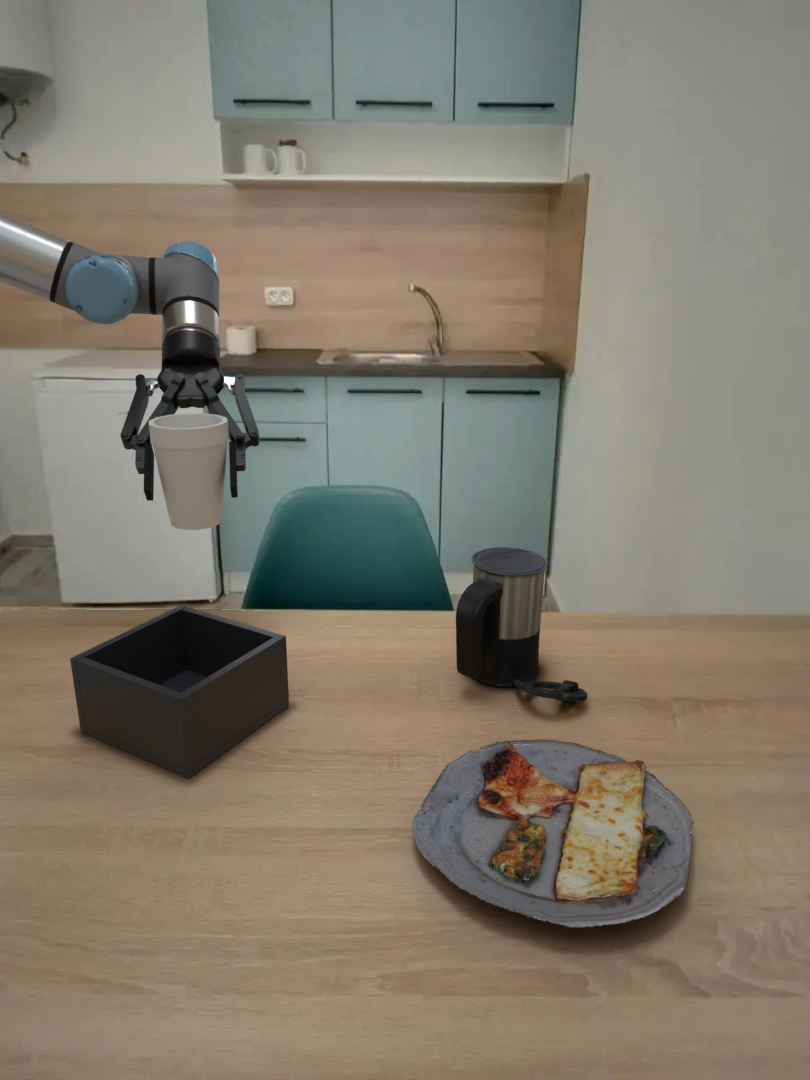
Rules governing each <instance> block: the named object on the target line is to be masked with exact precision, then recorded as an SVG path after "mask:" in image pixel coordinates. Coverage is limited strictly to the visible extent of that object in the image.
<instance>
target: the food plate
mask: <svg viewBox="0 0 810 1080" xmlns="http://www.w3.org/2000/svg"><path fill="white" fill-rule="evenodd" d="M694 827H695V821H694V819H693V816H692V814H691V812H690V810H689V809H688V807H687V806H686V804H684V802H683V801H682V800H681V799H680V798H679V797H677V795H676V794H675V793H674V792H672V791H671V790H670V789H669V788H668V787H666V786H665V785H664V784H663V782H661V781H660V780H659V779H658V778H657V777H656V775H654V773H651V772H650V771H647V766H646V763H645V762H644V761H643V760H639V759H637V760H634V761H627V760H626V759H624V758H622V757H620V756H618V755H615V754H611V753H608V752H605V751H603V750H600V749H595V748H592V747H589V746H587V745H583V744H580V743H578V742H571V741H563V740H555V739H543V738H540V739H538V738H537V739H520V740H519V739H518V740H503V741H496V742H492V743H490V744H487V745H484V746H481V747H479V748H478V749H476V750H469V751H468V752H466V753H465V754H463V755H460V757H458V758H457V759H456V758H455V759H454V760H452V761H449V762H447V764H446V765H445V767H444V768H443V770H442V771H441V773H440V774H439V776H438V777H437V779H436V780H435V782H434V784H433V785H432V787H431V788H430V790H429V792H428V793H427V795H426V796H425V798H424V799H423V802H422V804H421V805H420V807H419V809H418V810H417V811H416V813H415V815H414V816H413V820H412V834H413V840H414V841H415V844H416V847H417V849H418V851H419V852H420V853H421V855H422V857H423V859H425V860H427V861H428V864H430V865H431V867H435V868H437V869H438V870H439V871H440V873H442V874H443V876H445V878H447V879H448V880H449V881H450V883H452V884H454V885H455V886H457V887H458V888H459V889H461V890H464V891H465V892H466V893H469V894H470V895H471V896H474V897H476V898H478V899H479V900H481V901H483V902H485V903H487V904H490V905H492V906H496V907H499V908H502V909H504V910H507V911H509V912H512V913H513V914H514V915H516V914H518V913H519V914H520V915H523V916H526V919H528V918H529V919H530V918H532V919H537V920H538V921H542V922H548V923H551V924H556V925H561V926H564V927H566V928H572V929H573V928H576V929H577V928H588V927H589V928H593V927H595V926H597V927H598V926H599V927H603V926H609V925H610V926H612V925H618V924H623V923H626V924H627V923H629V922H633V921H636V920H640V919H641V918H642V919H643V918H646V917H648V916H650V915H652V914H654V913H656V912H659V911H661V910H662V908H665V907H667V906H668V905H669V904H670V903H672V902H673V901H674V899H676V898H677V897H679V896H681V895H682V894H683V892H685V889H686V884H688V878H689V872H690V871H689V870H690V863H691V861H690V860H691V853H692V845H693V837H694V829H695V828H694Z"/></svg>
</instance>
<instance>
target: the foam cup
mask: <svg viewBox="0 0 810 1080" xmlns="http://www.w3.org/2000/svg"><path fill="white" fill-rule="evenodd" d="M149 431H150V441H151V444H152V448H153V452H154V458H155V461H156V466H157V470H158V475H159V479H160V484H161V488H162V493H163V496H164V500H165V501H164V502H165V505H166V509H167V514H168V519H169V521H170V526H171V527H173V528H175V529H178V530H184V531H200V530H205V529H210V528H214V527H217V526H218V525H220V524H221V523H222V517H223V509H224V508H223V506H224V491H225V478H226V463H227V452H228V451H227V450H228V449H227V448H228V442H229V441H230V439H229V432H228V420H227V418H226V417H223V416H220V415H215V414H211V413H205V412H204V413H203V412H195V413H192V412H189V413H175V414H173V415H166V416H161V417H156V418H154V419H152V420H150V421H149Z"/></svg>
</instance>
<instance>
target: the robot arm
mask: <svg viewBox="0 0 810 1080" xmlns="http://www.w3.org/2000/svg"><path fill="white" fill-rule="evenodd" d="M0 283H2V284H5V285H8V286H10V287H13V288H15V289H18V290H20V291H22V292H25V293H28V294H31V295H33V296H36V297H38V298H41V299H44V300H46V301H49V302H51V303H54V304H56V305H58V306H61V307H64V308H65V309H68V310H72V311H73V312H76V314H78V315H79V316H81V317H82V318H83V319H85V320H87V321H89V322H90V323H94V324H99V325H111V324H115V323H117V322H121V321H122V320H125V319H126V318H127V317H128V316H129V315H132V314H134V315H136V314H137V315H151V316H152V315H153V316H157V315H159V316H162V317H161V324H162V325H161V342H162V344H161V368H160V372H159V373H158V375H157V376H156V377H146V376H145V375H144V374H141V373H140V374H139V373H138V374H137V375H135V378H134V379H135V391H134V395H133V398H132V401H131V403H130V406H129V409H128V412H127V414H126V418H125V420H124V423H123V426H122V429H121V432H120V435H119V436H120V439H121V442H122V445H123V448H124V450H127V451H128V450H133V451H135V460H134V464H135V469H136V471H137V474H138V475H143V492H144V496H145V499H146V501H147V502H148V501H149V502H150V501H154V494H155V493H154V485H155V484H154V483H155V480H154V479H155V453H154V449H153V444H151V441H150V431H149V421H150V420H152V419H154V418H156V417H161V416H166V415H173V414H176V413H177V411H178V409H189V408H197V409H204V408H205V407H206V408H207V410H208V411H209V413H210V414H215V415H220V416H223V417H226V418H227V420H228V432H229V440H228V450H229V451H228V453H229V458H228V459H229V488H230V490H229V491H230V495H231V496H230V497H231V498H232V499H233V498H239V497H238V492H239V491H238V472H245V471H246V469H247V457H246V450H247V449H248V448H249V447H258V446H259V445H260V432H259V428H258V425H257V423H256V420H255V417H254V414H253V411H252V408H251V405H250V401H249V400H248V396H247V394H246V382H245V375H244V373H241V372H238V373H236V374H235V376H225V375H224V374H223V372H222V370H221V369H222V367H221V346H220V345H221V321H220V277H219V267H218V262H217V258H216V256H215V255H214V253H213V251H211V250H210V249H209V248H208V247H206V246H205V245H204V244H201V243H199V242H196V241H190V240H181V241H180V242H178V243H173V244H171V245H170V246H169V247H167V248H166V249H165V251H164V252H163V256H162V257H159V256H158V257H157V256H155V257H151V256H150V257H145V256H134V255H124V254H123V255H122V254H110V253H100V252H99V251H95V250H94V249H91V248H89V247H86V246H85V245H81V244H79V243H75V242H74V241H71V240H69V239H66V238H64V237H61V236H60V235H56V234H54V233H52V232H49V231H47V230H45V229H42V228H40V227H38V226H34V225H32V224H30V223H28V222H25V221H24V220H20V219H19V218H15V217H13V216H11V215H9V214H6V213H3V212H0ZM224 388H226V389H227V390H228V393H229V394H231V395H232V396H234V399H235V404H236V407H237V409H238V413H239V415H240V419H241V421H242V424H243V427H244V430H245V432H244V431H243V432H242V430H241V428H240V427H239V426H238V424H237V422H236V421H235V420H234V419H233V416H232V415H231V414H230V413H229V411H228V410H227V408H226V407H225V405H224V403H223V402H222V401H221V399H220V397H219V394H220V393H221V391H222V390H223V389H224ZM156 389H159V390H161V392H162V395H161V398H160V401H159V402H158V404H157V405H156V407H155V408H154V410H153V412H152V413H151V415H150V416H149V418H148V419H147V420H146V422H145V423H144V425H143V427H142V428H141V426H142V423H143V420H144V417H145V414H146V411H147V408H148V405H149V401H150V398H151V397H153V395H154V393H155V391H156ZM140 428H141V429H140Z"/></svg>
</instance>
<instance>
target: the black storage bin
mask: <svg viewBox="0 0 810 1080" xmlns="http://www.w3.org/2000/svg"><path fill="white" fill-rule="evenodd" d="M287 648H288V647H287V636H286V635H284V634H280V633H277V632H273V631H270V630H267V629H263V628H260V627H257V626H254V625H251V624H247V623H244V622H240V621H237V620H233V619H230V618H227V617H223V616H220V615H216V614H213V613H210V612H206V611H204V610H200V609H196V608H193V607H190V606H187V605H182V604H180V605H178V606H176V607H174V608H172V609H170V610H167V611H165V612H163V613H161V614H160V615H157V616H155V617H153V618H150V619H149V620H147V621H145V622H143V623H141V624H139V625H137V626H134V627H132V628H130V629H128V630H126V631H124V632H122V633H119V634H118V635H116V636H113V637H111V638H109V639H108V640H105V641H103V642H101V643H99V644H97V645H95V646H93V647H91V648H89V649H87V650H85V651H83V652H80V653H78V654H77V655H74V656H73V657H70V659H69V661H70V668H71V675H72V682H73V688H74V696H75V701H76V708H77V716H78V724H79V728H80V732H81V733H82V734H84V735H87V736H89V737H91V738H93V739H96V740H98V741H100V742H103V743H105V744H107V745H109V746H112V747H114V748H116V749H119V750H121V751H123V752H125V753H128V754H130V755H133V756H135V757H137V758H139V759H142V760H145V761H147V762H149V763H151V764H152V765H155V766H158V767H161V768H163V769H165V770H166V771H169V772H172V773H174V774H176V775H179V776H181V777H184V778H186V779H188V780H189V779H191V778H193V776H195V775H196V774H198V773H199V772H200V771H202V770H203V769H204V768H206V767H207V766H208V765H211V763H213V762H214V761H215V760H217V759H219V758H220V757H221V756H222V755H224V754H225V753H226V752H228V751H230V750H231V749H233V748H234V747H236V745H238V744H239V743H241V742H243V740H245V739H246V738H248V737H249V736H250V735H252V734H253V733H255V732H256V731H257V730H259V729H260V728H262V727H263V726H264V725H265V724H267V723H269V722H270V721H271V720H272V719H274V718H275V717H276V716H278V715H279V714H280V713H282V712H283V711H285V710H287V709H288V708H289V707H290V694H289V693H290V692H289V671H288V650H287Z"/></svg>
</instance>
